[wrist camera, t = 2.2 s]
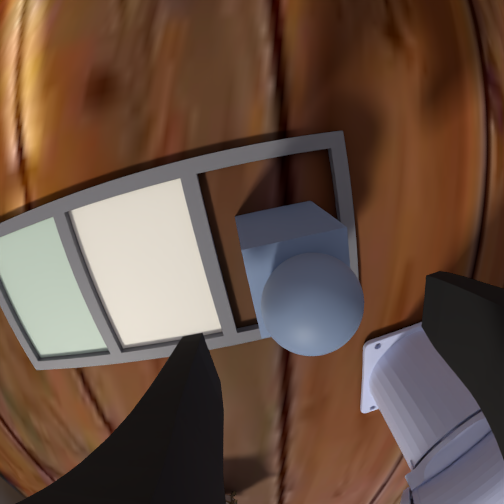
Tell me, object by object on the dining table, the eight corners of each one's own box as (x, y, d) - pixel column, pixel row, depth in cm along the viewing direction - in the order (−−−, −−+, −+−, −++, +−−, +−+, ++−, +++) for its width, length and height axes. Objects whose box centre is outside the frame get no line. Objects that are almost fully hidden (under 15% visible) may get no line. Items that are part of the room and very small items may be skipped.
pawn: (310, 200, 16) (388, 258, 8) (319, 269, 17) (384, 361, 10) (235, 216, 16) (249, 292, 8) (250, 285, 17) (273, 393, 10)
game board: (339, 130, 15) (342, 130, 14) (356, 310, 18) (359, 314, 18) (-23, 234, 14) (-28, 236, 14) (38, 366, 18) (36, 370, 18)
